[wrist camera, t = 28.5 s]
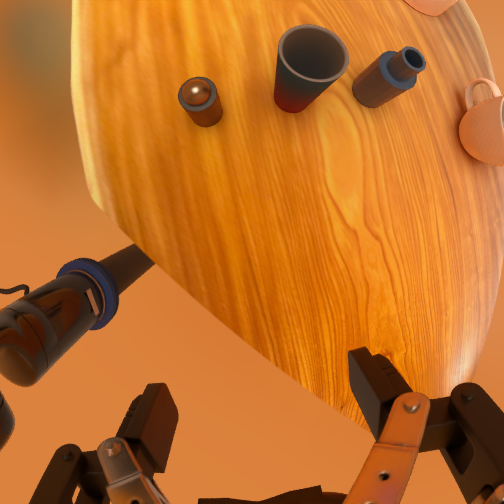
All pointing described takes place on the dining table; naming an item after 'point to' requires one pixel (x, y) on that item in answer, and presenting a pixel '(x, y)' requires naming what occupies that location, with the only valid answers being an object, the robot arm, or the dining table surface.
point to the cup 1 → (307, 65)
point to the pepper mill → (201, 101)
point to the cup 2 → (431, 6)
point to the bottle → (388, 77)
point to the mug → (484, 125)
